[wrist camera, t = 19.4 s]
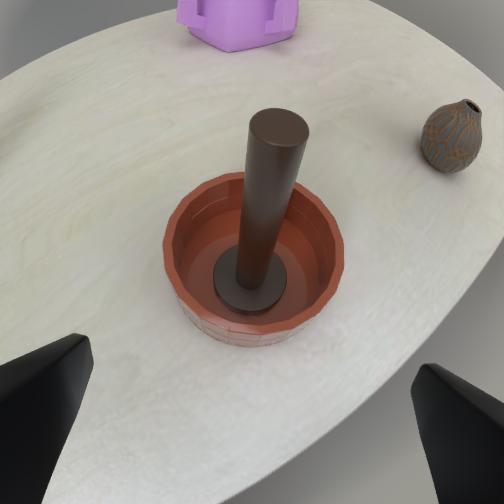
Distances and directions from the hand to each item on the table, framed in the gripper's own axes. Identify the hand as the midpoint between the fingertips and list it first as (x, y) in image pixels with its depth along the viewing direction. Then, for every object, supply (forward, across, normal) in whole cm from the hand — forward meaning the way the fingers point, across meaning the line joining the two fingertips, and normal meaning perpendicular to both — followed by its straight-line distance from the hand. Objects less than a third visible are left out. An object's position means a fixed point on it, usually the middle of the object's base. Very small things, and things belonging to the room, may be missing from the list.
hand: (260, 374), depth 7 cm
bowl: (+16, 0, +4) cm, 16 cm away
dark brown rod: (+14, 0, +4) cm, 15 cm away
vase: (+27, -21, -8) cm, 35 cm away
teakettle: (+44, +5, -25) cm, 51 cm away
